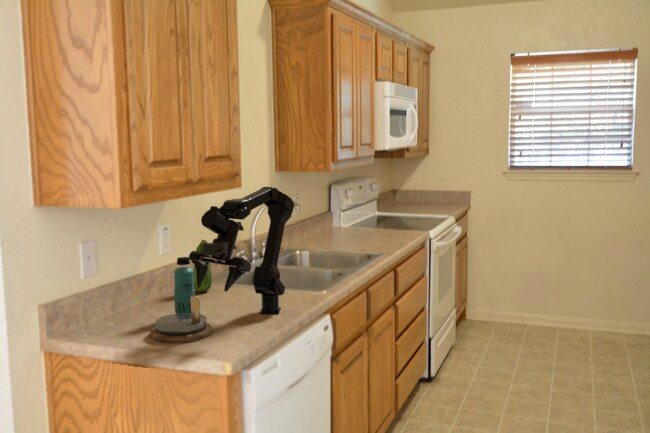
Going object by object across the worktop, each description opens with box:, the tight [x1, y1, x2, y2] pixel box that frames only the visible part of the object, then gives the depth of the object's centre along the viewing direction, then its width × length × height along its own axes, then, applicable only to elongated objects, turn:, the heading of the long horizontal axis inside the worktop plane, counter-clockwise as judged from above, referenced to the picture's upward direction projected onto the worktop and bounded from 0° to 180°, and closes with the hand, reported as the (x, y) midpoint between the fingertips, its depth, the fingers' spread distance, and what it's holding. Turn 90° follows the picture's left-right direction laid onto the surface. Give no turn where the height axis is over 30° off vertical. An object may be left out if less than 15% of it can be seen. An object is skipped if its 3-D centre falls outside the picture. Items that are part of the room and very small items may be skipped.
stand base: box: [150, 322, 213, 344], centre depth 203 cm, size 18×18×2 cm
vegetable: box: [193, 238, 213, 293], centre depth 253 cm, size 7×7×20 cm
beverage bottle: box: [173, 256, 196, 314], centre depth 218 cm, size 6×7×20 cm
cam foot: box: [154, 294, 208, 335], centre depth 202 cm, size 15×15×10 cm
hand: (211, 289), depth 198 cm, fingers open, 9 cm apart
